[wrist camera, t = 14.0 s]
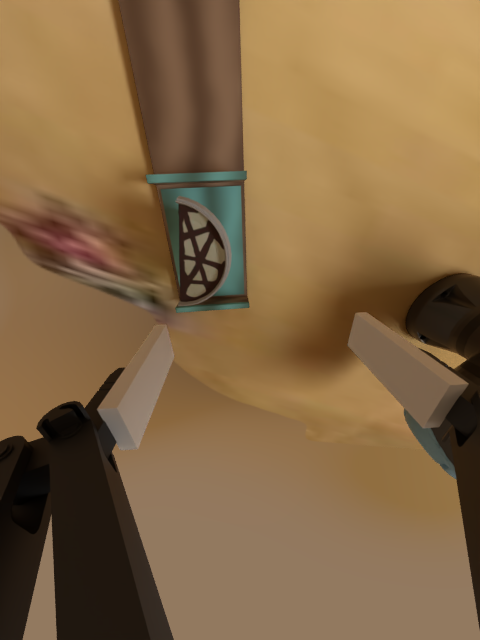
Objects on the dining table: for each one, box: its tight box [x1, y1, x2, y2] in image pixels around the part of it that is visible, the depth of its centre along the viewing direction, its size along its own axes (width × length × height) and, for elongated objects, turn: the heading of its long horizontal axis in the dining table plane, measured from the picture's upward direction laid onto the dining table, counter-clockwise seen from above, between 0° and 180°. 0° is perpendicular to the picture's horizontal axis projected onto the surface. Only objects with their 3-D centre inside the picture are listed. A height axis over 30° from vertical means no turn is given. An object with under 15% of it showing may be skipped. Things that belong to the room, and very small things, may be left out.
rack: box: [118, 0, 249, 313], centre depth 26 cm, size 12×36×5 cm, turn 2°
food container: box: [175, 196, 232, 306], centre depth 26 cm, size 12×6×10 cm, turn 173°
